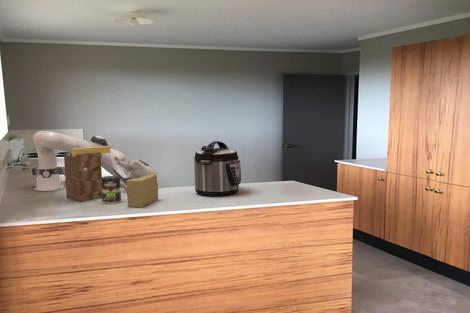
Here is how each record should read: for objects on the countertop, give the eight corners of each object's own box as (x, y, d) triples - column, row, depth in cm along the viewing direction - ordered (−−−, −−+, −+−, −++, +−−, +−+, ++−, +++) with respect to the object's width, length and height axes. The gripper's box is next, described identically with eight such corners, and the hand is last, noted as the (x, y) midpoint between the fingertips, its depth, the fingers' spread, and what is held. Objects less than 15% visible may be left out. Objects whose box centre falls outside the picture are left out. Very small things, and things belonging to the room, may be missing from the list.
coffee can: (120, 203, 246) (119, 177, 244) (101, 204, 244) (100, 178, 242) (121, 199, 256) (120, 175, 254) (103, 200, 254) (102, 176, 252)
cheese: (150, 199, 256) (149, 173, 254) (164, 200, 252) (163, 174, 250) (126, 206, 235) (125, 179, 234) (142, 208, 232) (140, 179, 230)
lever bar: (107, 152, 268) (106, 146, 268) (110, 153, 265) (110, 146, 265) (72, 155, 253) (71, 148, 252) (75, 156, 250) (74, 149, 250)
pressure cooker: (207, 199, 250) (206, 143, 246) (185, 192, 273) (183, 141, 270) (251, 193, 266) (250, 141, 263) (225, 187, 289) (224, 139, 286)
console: (88, 194, 273) (86, 151, 270) (103, 198, 259) (101, 152, 257) (66, 198, 263) (63, 153, 260) (81, 202, 250) (78, 154, 247)
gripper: (142, 173, 272) (125, 164, 263) (125, 170, 287) (108, 161, 278) (146, 164, 274) (129, 154, 265) (129, 161, 288) (112, 152, 279)
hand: (118, 158), depth 271 cm, fingers open, 8 cm apart
